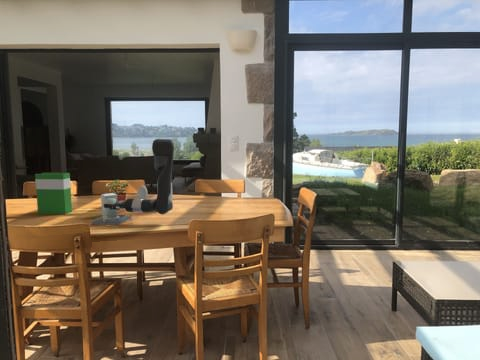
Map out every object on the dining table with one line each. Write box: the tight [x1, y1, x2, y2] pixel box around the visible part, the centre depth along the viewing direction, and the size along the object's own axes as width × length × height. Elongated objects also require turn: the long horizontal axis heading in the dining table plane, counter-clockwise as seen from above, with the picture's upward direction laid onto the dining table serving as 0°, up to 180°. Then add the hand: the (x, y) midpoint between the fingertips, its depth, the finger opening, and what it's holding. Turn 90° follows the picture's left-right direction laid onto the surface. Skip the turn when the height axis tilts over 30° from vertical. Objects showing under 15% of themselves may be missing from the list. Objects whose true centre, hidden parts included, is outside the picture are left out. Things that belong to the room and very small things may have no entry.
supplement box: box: [100, 192, 119, 216], centre depth 235 cm, size 7×7×13 cm
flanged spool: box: [106, 198, 120, 220], centre depth 220 cm, size 8×8×11 cm
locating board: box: [91, 213, 132, 227], centre depth 220 cm, size 18×14×4 cm
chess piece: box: [134, 185, 148, 199], centre depth 252 cm, size 10×10×15 cm
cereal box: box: [34, 172, 73, 215], centre depth 242 cm, size 18×7×24 cm, turn 84°
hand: (107, 204), depth 220 cm, fingers open, 7 cm apart
